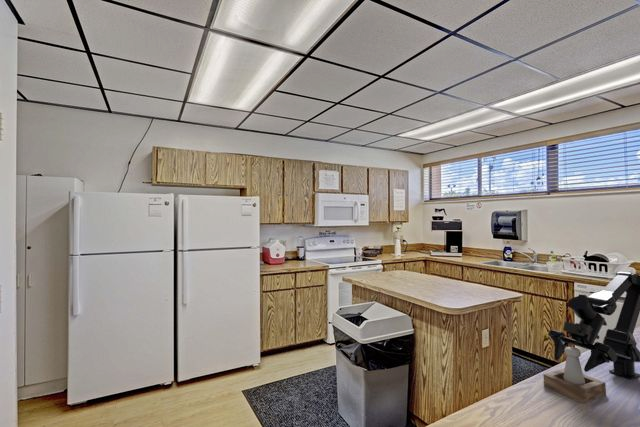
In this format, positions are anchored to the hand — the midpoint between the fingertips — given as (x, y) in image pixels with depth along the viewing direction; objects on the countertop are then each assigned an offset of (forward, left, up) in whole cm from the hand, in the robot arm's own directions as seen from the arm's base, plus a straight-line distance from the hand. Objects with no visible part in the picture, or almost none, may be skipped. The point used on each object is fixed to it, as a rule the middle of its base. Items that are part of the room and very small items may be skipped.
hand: (569, 365), depth 109 cm
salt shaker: (-2, 0, -8) cm, 8 cm away
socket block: (-1, 0, -9) cm, 9 cm away
